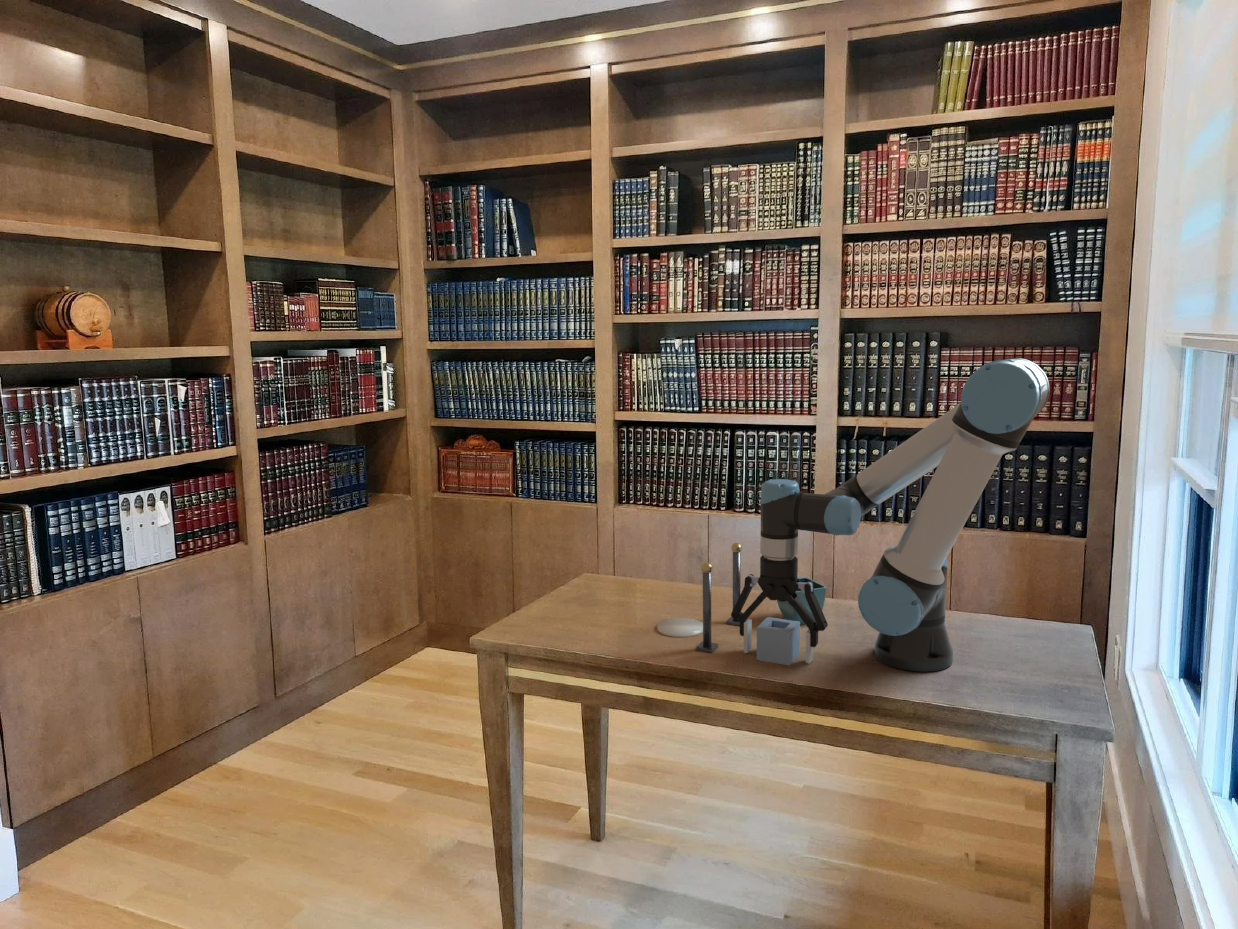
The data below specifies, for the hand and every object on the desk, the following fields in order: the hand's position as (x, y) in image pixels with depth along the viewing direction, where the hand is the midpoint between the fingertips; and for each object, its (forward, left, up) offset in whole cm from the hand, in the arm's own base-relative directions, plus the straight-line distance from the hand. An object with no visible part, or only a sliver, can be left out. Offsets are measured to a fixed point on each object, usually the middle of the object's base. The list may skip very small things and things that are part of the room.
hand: (777, 656), depth 176 cm
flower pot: (+2, -23, 0) cm, 23 cm away
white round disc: (+25, -7, 0) cm, 26 cm away
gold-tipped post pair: (+15, -7, 0) cm, 16 cm away
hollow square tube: (0, 0, 0) cm, 0 cm away
